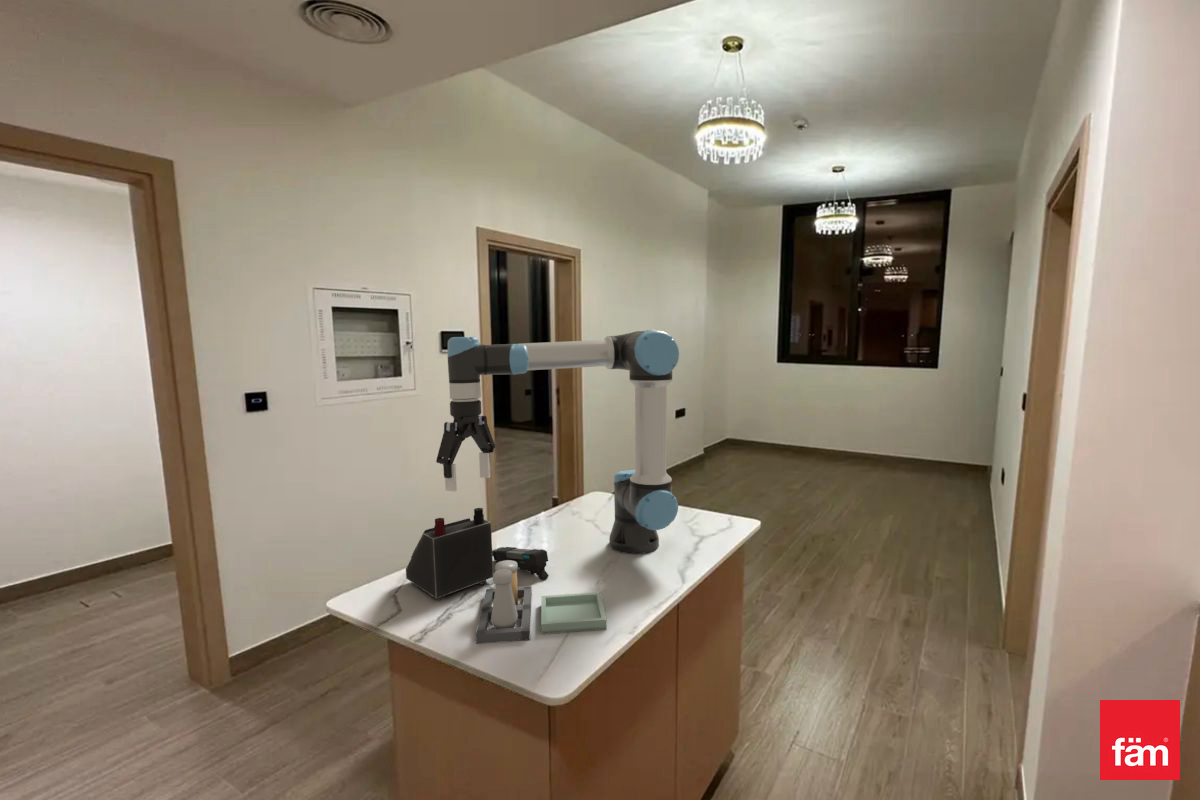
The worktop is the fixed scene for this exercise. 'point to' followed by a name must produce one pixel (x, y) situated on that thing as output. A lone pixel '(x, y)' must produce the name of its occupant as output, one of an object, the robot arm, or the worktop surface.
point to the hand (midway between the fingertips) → (468, 483)
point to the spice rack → (522, 610)
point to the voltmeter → (452, 556)
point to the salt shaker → (503, 601)
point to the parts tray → (572, 613)
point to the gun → (524, 559)
